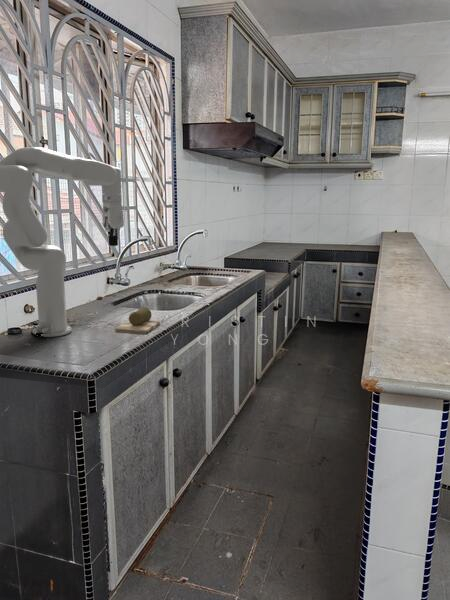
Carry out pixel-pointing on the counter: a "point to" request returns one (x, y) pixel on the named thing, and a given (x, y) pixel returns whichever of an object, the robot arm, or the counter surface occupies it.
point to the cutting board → (137, 327)
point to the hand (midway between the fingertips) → (113, 245)
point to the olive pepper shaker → (140, 316)
